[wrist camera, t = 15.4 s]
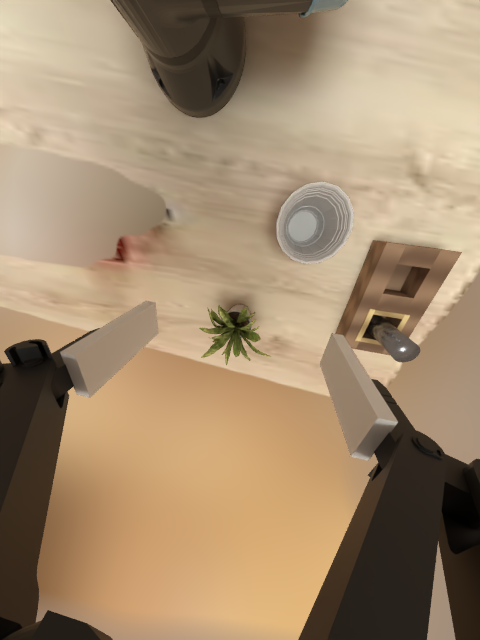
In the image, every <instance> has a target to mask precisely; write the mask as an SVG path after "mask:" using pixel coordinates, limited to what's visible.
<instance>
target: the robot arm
mask: <svg viewBox="0 0 480 640" xmlns="http://www.w3.org/2000/svg"><path fill="white" fill-rule="evenodd" d="M347 1H348V0H111V2H112V3H113V4H114V6H115V7H116V8H117V10H118V11H119V12H120V14H121V15H122V16H123V18H124V19H125V20H126V22H127V23H128V24H129V26H130V27H131V28H132V30H133V31H134V32H135V34H136V35H137V36H138V38H139V39H140V40H141V42H142V44H143V47H144V50H145V53H146V56H147V59H148V61H149V64H150V67H151V70H152V72H153V75H154V77H155V79H156V81H157V83H158V85H159V86H160V88H161V90H162V91H163V92H164V94H165V95H166V96H167V98H168V99H169V100H170V101H171V102H172V103H173V105H174V106H175V107H177V108H178V109H179V110H180V111H182V112H183V113H185V114H187V115H190V116H194V117H206V116H209V115H212V114H214V113H216V112H217V111H219V110H220V109H221V108H223V107H224V106H225V105H226V103H227V102H228V101H229V100H230V98H231V97H232V95H233V94H234V92H235V90H236V88H237V86H238V83H239V81H240V78H241V75H242V71H243V66H244V61H245V52H246V34H245V25H244V19H243V17H247V16H264V15H281V14H299V16H300V17H301V18H305V17H307V16H309V15H310V14H311V13H314V12H322V11H329V10H335V9H338V8H340V7H342V6H343V5H344V4H345V3H346V2H347ZM157 334H158V324H157V313H156V303H155V302H150V301H145V302H143V303H142V304H140V305H138V306H137V307H135V308H133V309H131V310H130V311H128V312H126V313H125V314H123V315H121V316H120V317H118V318H116V319H115V320H113V321H111V322H110V323H108V324H106V325H105V326H103V327H101V328H98V329H95V330H93V331H90V332H88V333H87V334H85V335H83V336H82V337H80V338H78V339H76V340H75V341H73V342H71V343H69V344H67V345H66V346H64V347H62V348H61V349H59V350H57V351H56V352H54V353H52V354H51V352H50V350H49V347H48V345H47V343H46V341H44V340H39V339H38V340H37V339H36V340H28V341H23V342H20V343H17V344H14V345H12V346H11V347H9V348H7V349H6V350H5V351H4V352H5V354H6V355H7V357H8V359H9V360H10V362H11V363H9V364H2V363H1V361H0V640H112V638H111V637H110V636H108V635H106V634H105V633H103V632H101V631H99V630H98V629H96V628H94V627H92V626H91V625H89V624H87V623H84V622H81V621H78V620H75V619H72V618H69V617H66V616H63V615H60V614H57V613H54V612H51V611H49V610H48V611H47V613H46V614H45V616H44V618H43V619H42V621H39V622H37V623H35V622H36V616H37V610H38V601H39V588H38V582H37V565H38V559H39V554H40V548H41V543H42V537H43V532H44V526H45V522H46V516H47V511H48V505H49V500H50V495H51V490H52V484H53V479H54V474H55V468H56V463H57V458H58V452H59V447H60V442H61V436H62V431H63V426H64V420H65V415H66V410H67V404H68V399H69V394H68V392H67V391H68V390H70V389H71V388H72V387H73V386H74V389H75V391H76V394H77V395H81V396H85V397H91V396H92V395H94V394H95V393H96V392H97V391H98V390H99V389H100V388H101V387H102V386H103V385H104V384H105V383H106V382H107V381H108V380H109V379H111V377H113V376H114V375H115V373H117V372H118V371H119V370H120V369H121V368H122V367H123V366H124V365H125V364H126V363H127V362H128V361H130V360H131V359H132V358H133V357H134V356H135V355H136V354H137V353H138V352H139V351H140V350H141V349H142V348H143V347H144V346H145V345H147V344H148V343H149V342H150V341H151V340H152V339H153V338H154V337H155V336H156V335H157ZM320 366H321V369H322V372H323V375H324V378H325V381H326V384H327V386H328V389H329V392H330V395H331V398H332V401H333V404H334V407H335V410H336V413H337V416H338V419H339V422H340V425H341V428H342V431H343V434H344V437H345V440H346V443H347V446H348V449H349V452H350V455H351V457H355V458H360V459H364V460H369V459H370V457H371V456H372V455H373V454H374V453H375V455H376V457H377V460H378V464H377V465H376V466H375V467H374V468H373V470H372V471H371V472H370V473H369V474H368V476H369V477H370V479H369V482H368V484H367V486H366V488H365V491H364V493H363V495H362V497H361V500H360V502H359V504H358V506H357V509H356V511H355V513H354V515H353V518H352V520H351V522H350V524H349V527H348V529H347V531H346V533H345V536H344V538H343V540H342V542H341V545H340V547H339V549H338V551H337V554H336V556H335V558H334V560H333V563H332V565H331V567H330V569H329V572H328V574H327V576H326V578H325V581H324V583H323V585H322V587H321V590H320V592H319V595H318V597H317V599H316V601H315V603H314V606H313V608H312V610H311V612H310V614H309V617H308V619H307V621H306V624H305V626H304V628H303V630H302V633H301V635H300V637H299V640H427V633H428V624H429V615H430V607H431V597H432V589H433V580H434V571H435V563H436V554H437V545H438V541H439V547H440V553H441V558H442V564H443V570H444V576H445V581H446V586H447V593H448V598H449V604H450V610H451V615H452V621H453V627H454V632H455V638H456V640H480V459H476V460H474V461H472V462H471V463H470V464H469V465H468V464H466V463H464V462H461V461H459V460H457V459H455V458H453V457H450V456H448V455H446V454H445V453H444V452H443V450H442V449H441V448H440V447H439V446H438V444H437V443H436V442H435V441H433V440H432V439H431V438H429V437H428V436H426V435H425V434H423V433H421V432H419V431H416V430H415V429H414V427H413V426H412V425H411V423H410V422H409V420H408V419H407V417H406V416H405V415H404V413H403V411H402V410H401V409H400V407H399V406H398V405H397V403H396V401H395V400H394V399H393V398H392V396H391V394H390V393H389V391H388V390H387V388H386V387H385V386H383V385H382V384H381V383H380V382H379V381H378V380H374V379H371V378H370V377H369V375H368V374H367V372H366V370H365V369H364V367H363V366H362V364H361V363H360V361H359V359H358V358H357V356H356V355H355V353H354V352H353V350H352V348H351V347H350V345H349V344H348V342H347V340H346V339H345V337H344V336H343V335H340V334H334V333H332V334H331V337H330V339H329V342H328V344H327V347H326V349H325V352H324V354H323V357H322V359H321V362H320Z"/></svg>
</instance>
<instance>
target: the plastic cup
mask: <svg viewBox="0 0 480 640" xmlns="http://www.w3.org/2000/svg"><path fill="white" fill-rule="evenodd" d="M353 217H354V212H353V208H352V205H351V202H350V198H349V197H348V196H347V195H346V194H345V193H344V191H343V190H342V189H341V188H340V187H339V186H336V185H333V184H330V183H327V182H324V181H323V182H316V183H309V184H306V185H304V186H303V187H301V188H299V189H298V190H296V191H295V192H293V193H292V194H291V195H290V197H289V198H288V199H287V200H286V202H285V203H284V204H283V205H282V207H281V210H280V213H279V216H278V219H277V222H276V230H277V239H278V242H279V244H280V247H281V249H282V251H283V252H284V253H285V254H286V255H288V256H289V257H290V258H291V259H292V260H294V261H297V262H300V263H303V264H312V263H320V262H322V261H324V260H326V259H328V258H331V257H333V256H334V255H335V254H336V253H337V252H338V251H339V250H340V249H341V248H342V247H343V246H344V245H345V243H346V241H347V239H348V237H349V235H350V233H351V231H352V226H353Z"/></svg>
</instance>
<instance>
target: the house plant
mask: <svg viewBox="0 0 480 640" xmlns="http://www.w3.org/2000/svg"><path fill="white" fill-rule="evenodd" d="M208 311H209V309H208ZM218 312H219V315H220V316H221V318H222V319H220V318H219V317H218V316H217V314H216V313H215V312H213V310H212V309H211V313H210V311H209V315H210V319H211V321H212V323H213V325H214V326H215V327H216V328H212V329H206V328H200V329H201V330H202V331H204V332H206V333H210V334H221V333H222V334H221V335H220V336H215V337H211V338H212V339H214V338H216V339H214V341H213V342H215V344H213V345H212V346H211V347H210V349H209V350H208V351H207V352H206V353H205V354H204V355H203V356H202V357H206V356H209V355H211V354H213V353H214V352H216V351H217V350H218V349H220V348H221V347H223V346H224V345H225V343H226V342H227V341H228V340H229V339H230V340H229V342H228V345H227V348H226V349H225V351H224V352H223V354H224V353H226V354H225V361H226V365H227V363H228V359H229V356H230V351H231V347H232V345H233V353H234V355H235V356H236V357H237V356H239V354H240V351H241V353H242V354H243V355H244V357H245V358H247V359H248V360H250V358H249V357H248V356H247V353H246V351H245V349H244V347H243V345H242V341H241V338H242V337H243V339H244V340H245V341H246V342H247V344H248V345H249V346H250V348H251V349H252V350H253V351H255V352H256V353H258V354H261V355H264V356H269V355H267V354H264V353H262V352H260V351H259V350H257V349H256V348H254V347H253V346H252V344H251V343H250V342H249V341H248V340H247V339H249V340H251V341H253V342H256V341H258V340H260V337H259V335H258V334H257V333H255V332H253V331H255V330H256V329H258V327H257V328H255V329H253V330H251V325H252V324H253V323H254V322H255V320H254V321H252V322H251V317H252V316H253V315H254V314H255V313H253V314H251V315H250V311H249V309H248V308H247V307H246V306H244V305H241V304H238V305H235V306H233V307H232V308H231V309H230V310H229V311H228V312H226V311H225V310H223V309H222V308H221V307H220V305H219V306H218ZM213 320H214V321H216V322H217V323H218V324H220V325H221V326H217V325H215V323H214V321H213ZM223 332H224V333H223ZM230 337H231V338H230ZM208 338H209V337H208ZM246 338H247V339H246ZM233 341H234V343H233ZM223 354H222V355H223ZM202 357H201V358H202ZM270 357H271V356H270Z"/></svg>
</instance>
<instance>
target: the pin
mask: <svg viewBox="0 0 480 640" xmlns="http://www.w3.org/2000/svg"><path fill="white" fill-rule="evenodd" d="M366 329H367V330H368V332H369V333H370V334H371V335H372V336H373V337H374V338H375V339H376V340H377V341H378V342H379V343H380V344H381V345H382V347H383V348H384V349H385V350H386V351H387V352H388V353H389V354H390V355H391V356H392V357H393V358H394V359H395V360H396V361H398V362H408V361H411V360H413V359H415V358H416V357H417V356H418V355H419V353H420V348H419V346H418V345H417V344H415V343H414V342H413V341H412V340H411V339H409V338H408V337H407V336H406V335H404V334H403V333H402V332H401V331H400V330H398V329H397V328H396V327H395V326H393V325H392V324H391V323H390V322H388V321H387V320H386V319H385V318H384V317H382V316H380V315H374V314H373V316H372V318H371V320H370V322H369V324H368V326H367V328H366Z"/></svg>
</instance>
